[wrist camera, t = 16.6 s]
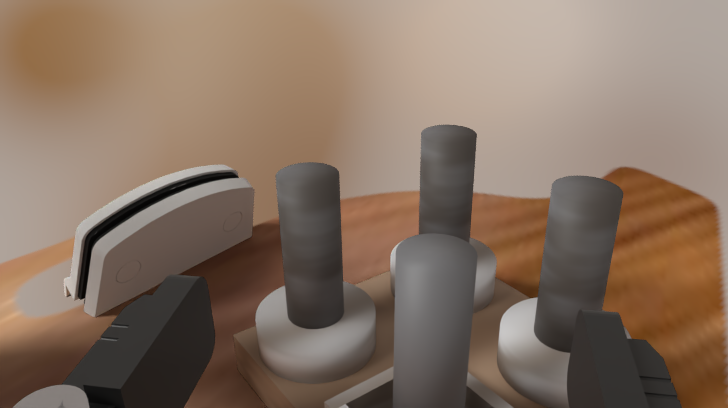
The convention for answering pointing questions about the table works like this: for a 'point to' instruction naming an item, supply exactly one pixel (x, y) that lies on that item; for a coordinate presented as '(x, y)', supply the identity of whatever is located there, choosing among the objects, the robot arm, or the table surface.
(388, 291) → the upturned partly assembled table
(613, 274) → the table surface
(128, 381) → the robot arm
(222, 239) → the white arched grooved block
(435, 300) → the loose leg
